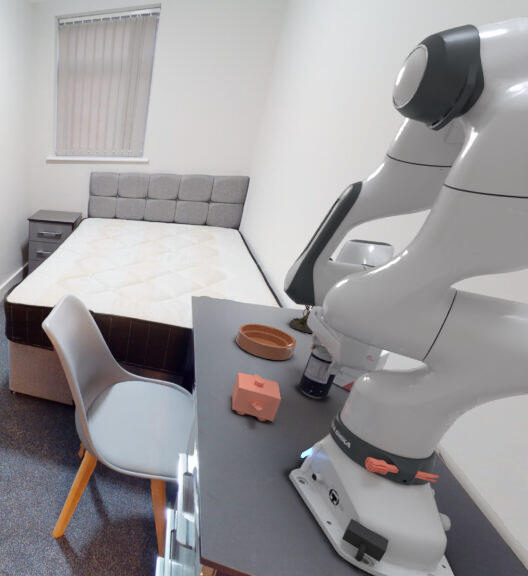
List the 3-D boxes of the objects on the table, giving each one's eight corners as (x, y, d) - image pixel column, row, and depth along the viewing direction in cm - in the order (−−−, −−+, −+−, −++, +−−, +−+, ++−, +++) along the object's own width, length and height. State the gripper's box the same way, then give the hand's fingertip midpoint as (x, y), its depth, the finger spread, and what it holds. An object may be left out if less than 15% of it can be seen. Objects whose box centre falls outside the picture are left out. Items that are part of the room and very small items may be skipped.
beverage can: (331, 402, 88) (349, 359, 83) (304, 398, 89) (321, 356, 84) (318, 387, 93) (334, 346, 88) (293, 384, 94) (308, 343, 89)
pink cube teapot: (231, 421, 81) (240, 391, 78) (231, 391, 91) (239, 363, 88) (273, 434, 78) (284, 403, 75) (268, 401, 87) (278, 372, 84)
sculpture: (280, 329, 121) (304, 257, 112) (296, 318, 129) (320, 250, 120) (309, 340, 115) (337, 264, 106) (325, 328, 123) (352, 256, 114)
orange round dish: (298, 365, 102) (303, 351, 100) (241, 355, 106) (245, 342, 104) (282, 341, 114) (287, 328, 113) (231, 332, 119) (235, 320, 117)
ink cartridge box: (373, 392, 92) (397, 341, 86) (362, 397, 90) (386, 345, 84) (333, 373, 99) (353, 325, 93) (323, 378, 97) (343, 328, 91)
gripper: (309, 290, 93) (293, 337, 98) (346, 328, 75) (324, 383, 80) (339, 293, 91) (321, 341, 96) (385, 333, 73) (359, 390, 78)
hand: (322, 361), depth 88 cm, fingers open, 8 cm apart
